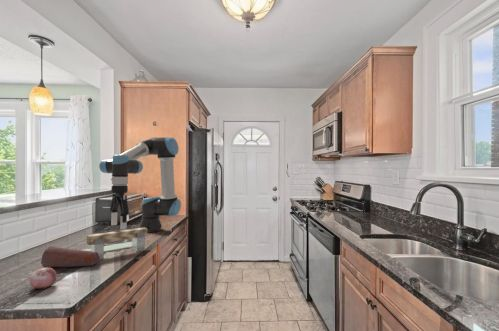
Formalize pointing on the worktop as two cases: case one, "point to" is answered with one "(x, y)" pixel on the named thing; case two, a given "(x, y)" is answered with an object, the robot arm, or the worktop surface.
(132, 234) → the rail
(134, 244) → the post
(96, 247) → the post
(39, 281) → the onion
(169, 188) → the robot arm
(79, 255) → the food
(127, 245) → the mat
